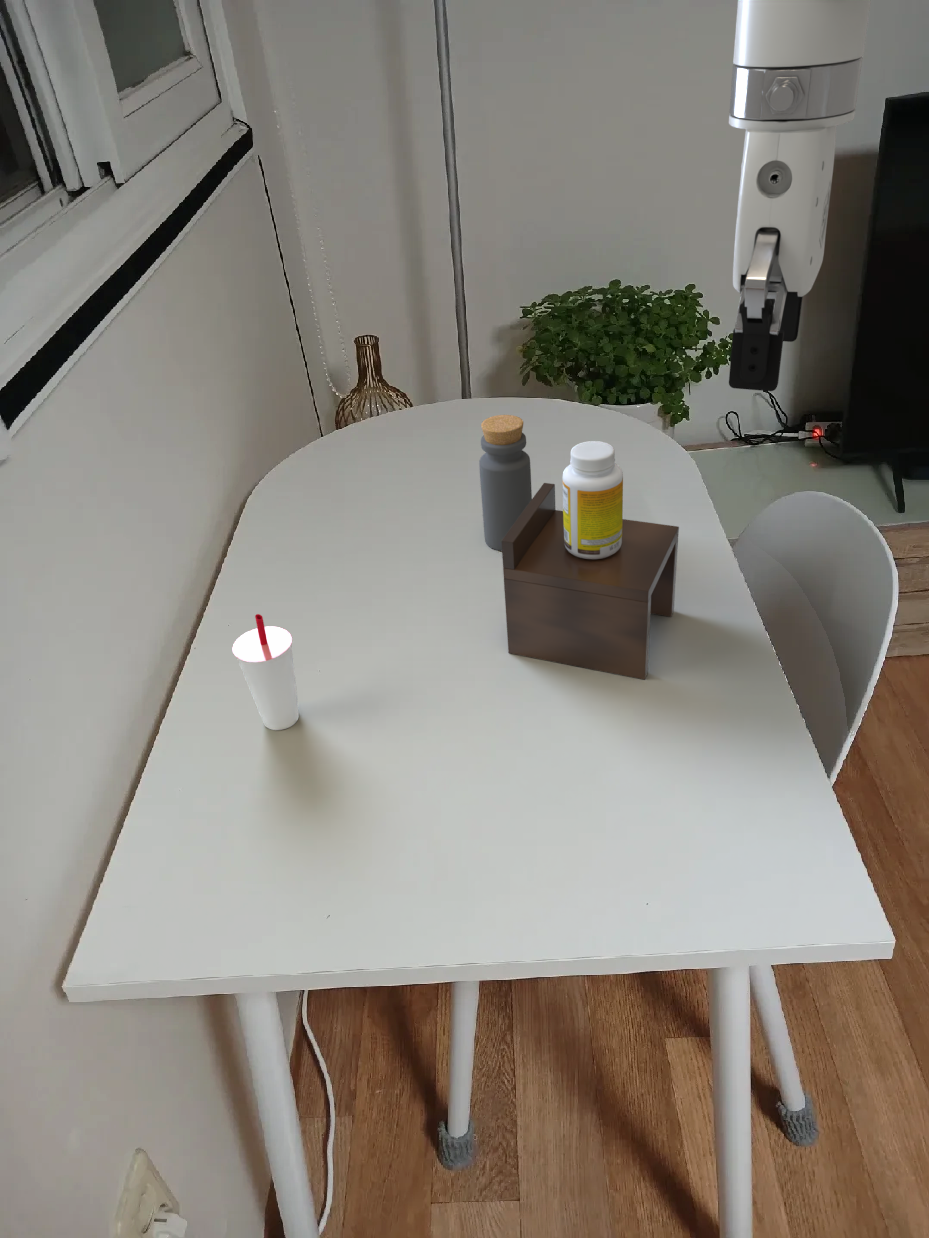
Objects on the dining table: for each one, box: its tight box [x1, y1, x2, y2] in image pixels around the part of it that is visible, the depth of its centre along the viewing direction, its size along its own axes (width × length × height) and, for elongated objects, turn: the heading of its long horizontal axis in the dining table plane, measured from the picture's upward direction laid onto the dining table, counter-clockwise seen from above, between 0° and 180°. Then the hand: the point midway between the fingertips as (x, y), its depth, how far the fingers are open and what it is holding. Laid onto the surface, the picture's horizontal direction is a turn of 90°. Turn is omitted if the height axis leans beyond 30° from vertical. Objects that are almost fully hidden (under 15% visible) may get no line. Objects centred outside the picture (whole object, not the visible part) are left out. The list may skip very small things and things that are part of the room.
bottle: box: [478, 414, 533, 552], centre depth 110 cm, size 6×6×15 cm
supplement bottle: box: [561, 440, 624, 559], centre depth 89 cm, size 6×6×10 cm
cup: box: [231, 613, 300, 731], centre depth 87 cm, size 5×5×12 cm
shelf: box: [501, 482, 680, 680], centre depth 94 cm, size 14×12×13 cm
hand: (764, 362), depth 69 cm, fingers open, 9 cm apart
